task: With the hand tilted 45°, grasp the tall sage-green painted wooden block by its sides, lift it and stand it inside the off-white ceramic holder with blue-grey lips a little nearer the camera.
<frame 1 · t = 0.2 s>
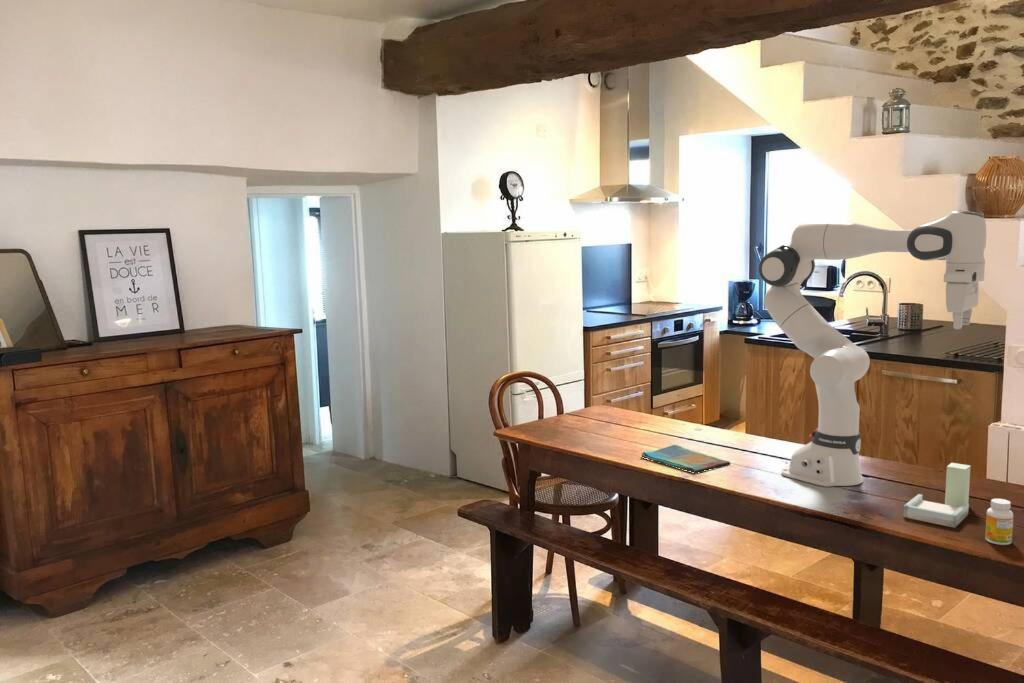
hand: (961, 327, 216), 47 cm above the table, tool pointing down, fingers open, 8 cm apart
supplement bottle: (998, 542, 194), on the table
dish towel: (684, 463, 264), on the table
holder: (935, 515, 211), on the table
green block: (956, 506, 218), on the table
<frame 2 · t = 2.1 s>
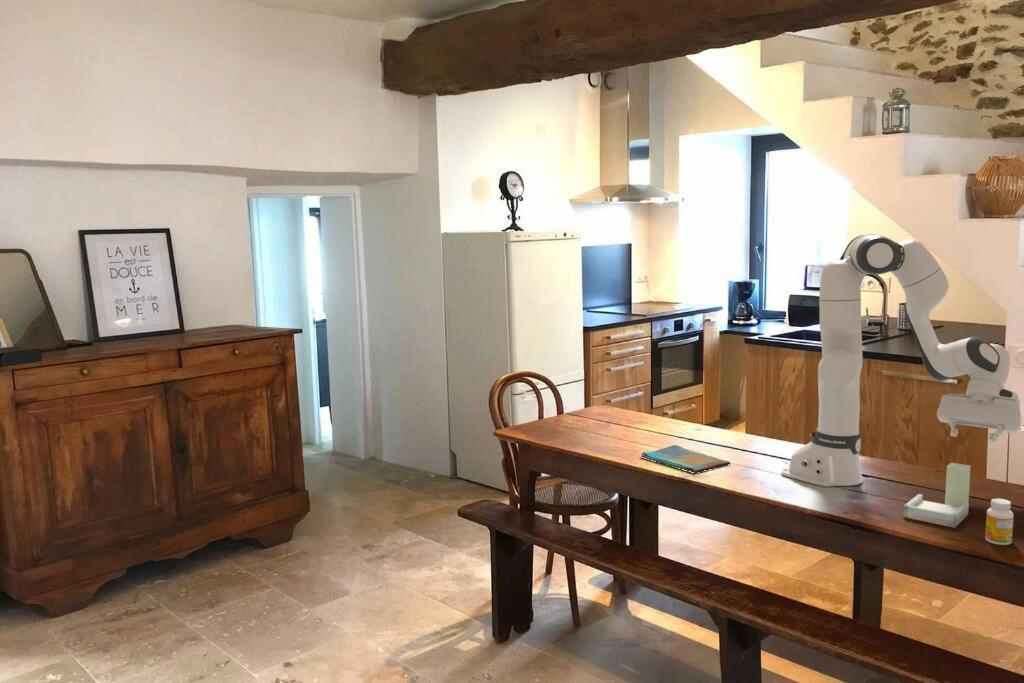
hand: (972, 437, 224), 16 cm above the table, tool tilted 45°, fingers open, 8 cm apart
nothing on the table moved.
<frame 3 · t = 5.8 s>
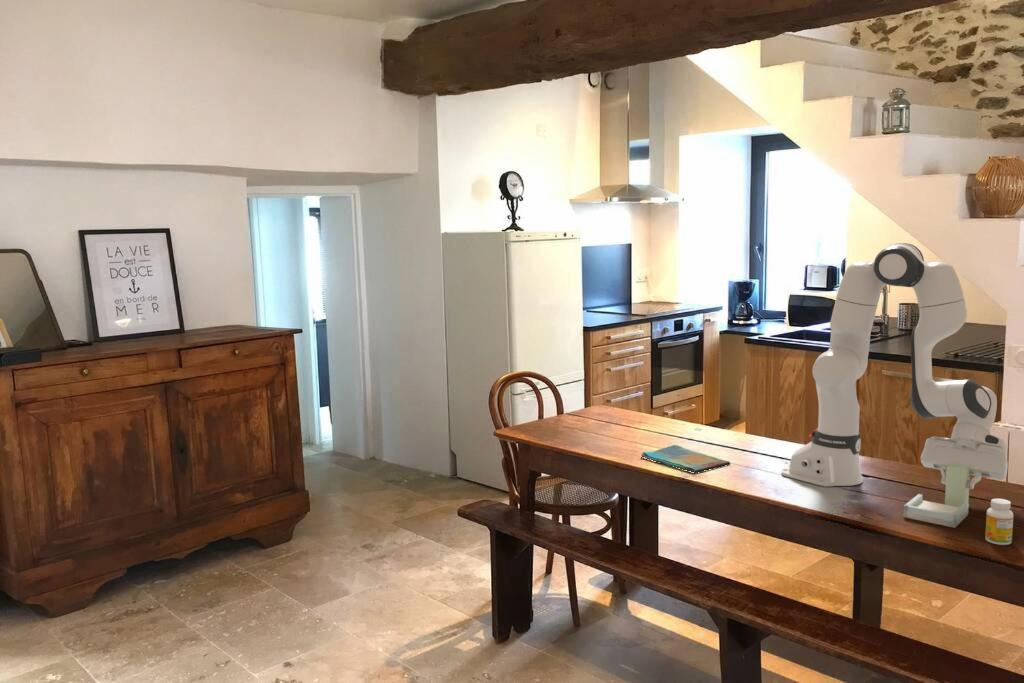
hand: (956, 485, 216), 6 cm above the table, tool tilted 45°, fingers closed on green block, 4 cm apart
green block: (956, 506, 218), on the table, touching gripper
everything else where it was.
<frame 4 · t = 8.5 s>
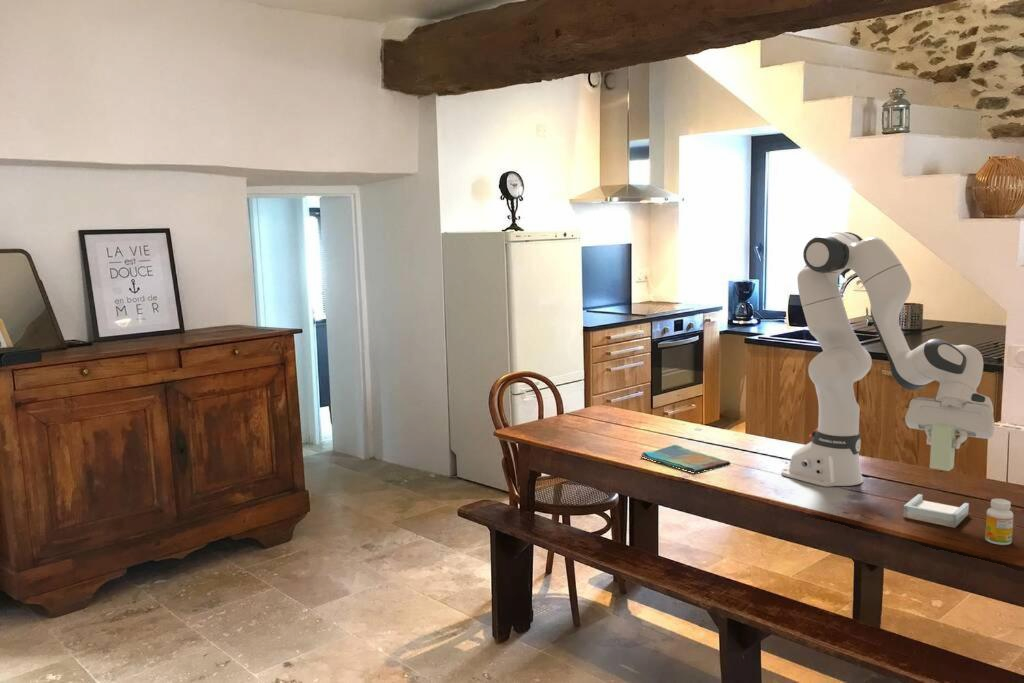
hand: (942, 445, 209), 18 cm above the table, tool tilted 45°, fingers closed on green block, 4 cm apart
green block: (941, 467, 210), point 12 cm above the table, touching gripper
everything else where it was.
when the fingers open (8 cm above the table, at t = 11.4 s): green block stays where it is, resting on holder.
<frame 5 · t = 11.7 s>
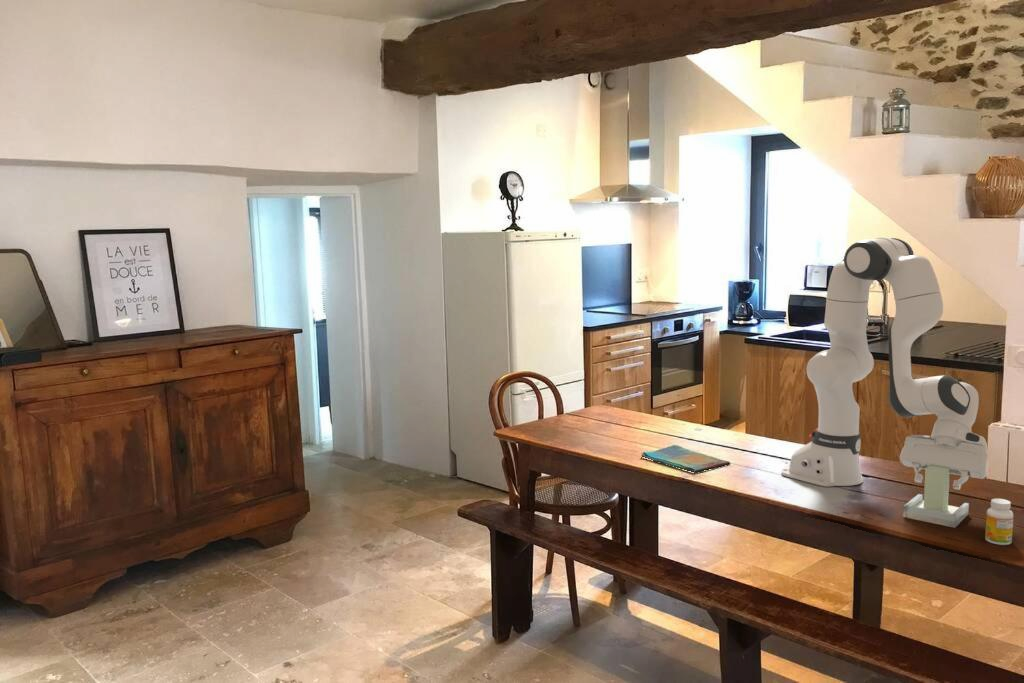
hand: (936, 484, 209), 8 cm above the table, tool tilted 45°, fingers open, 8 cm apart
green block: (935, 510, 211), point 2 cm above the table, touching holder
everything else where it was.
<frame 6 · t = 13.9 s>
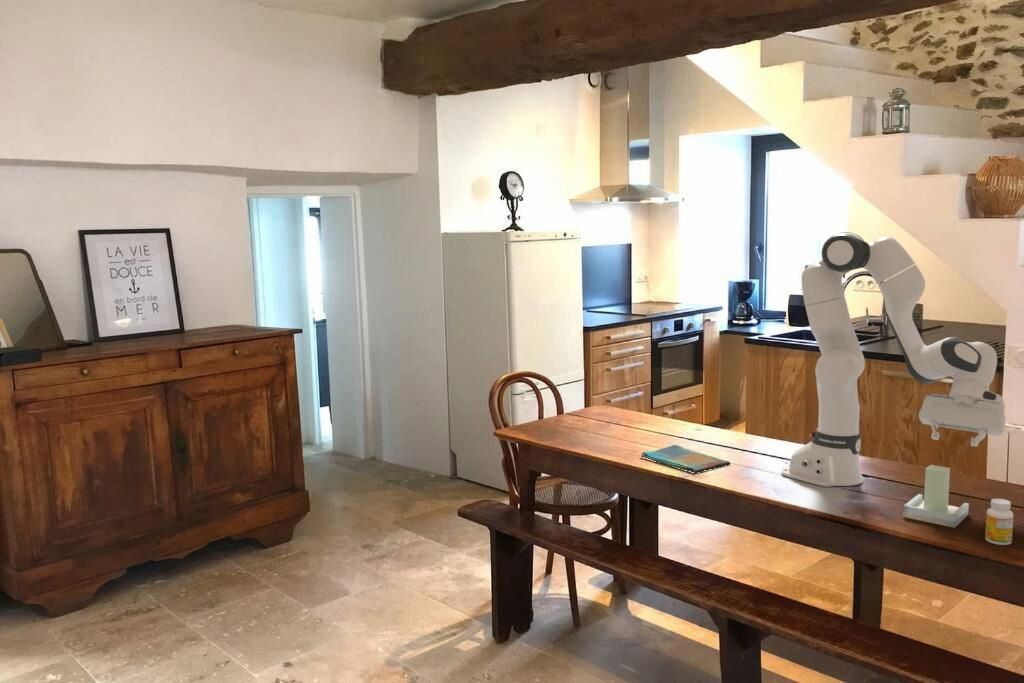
hand: (953, 441, 217), 17 cm above the table, tool tilted 40°, fingers open, 8 cm apart
nothing on the table moved.
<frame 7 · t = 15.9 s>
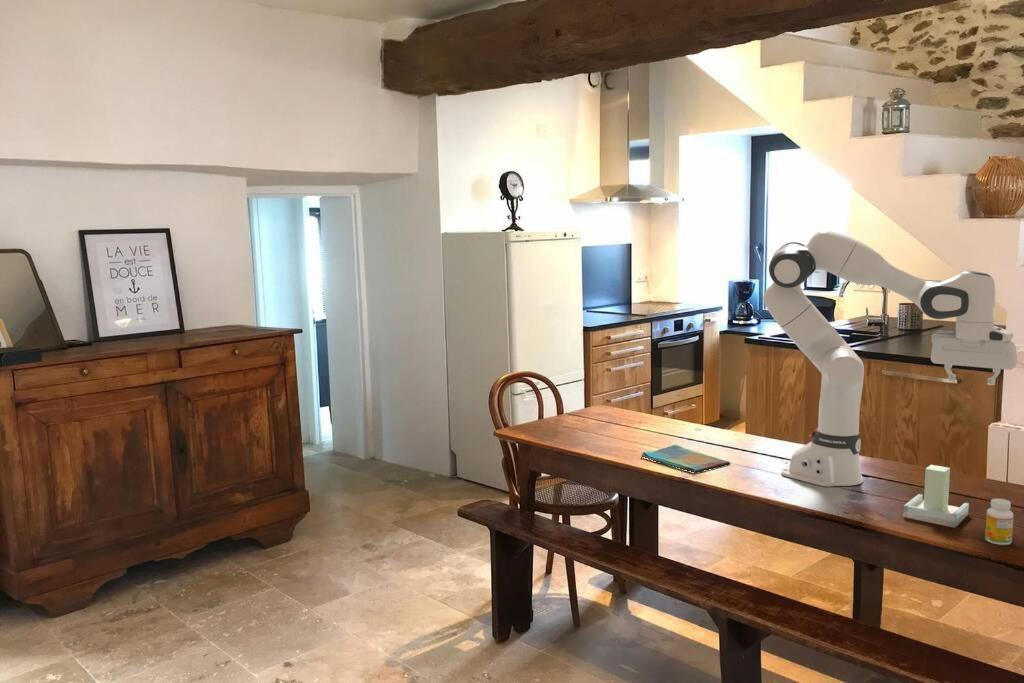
hand: (971, 382, 223), 31 cm above the table, tool pointing down, fingers open, 8 cm apart
nothing on the table moved.
at the end: green block inside the target area on the holder (0.1 cm from its centre), point 1.5 cm above the holder's base; green block tilted 0°; the gripper is holding nothing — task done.
